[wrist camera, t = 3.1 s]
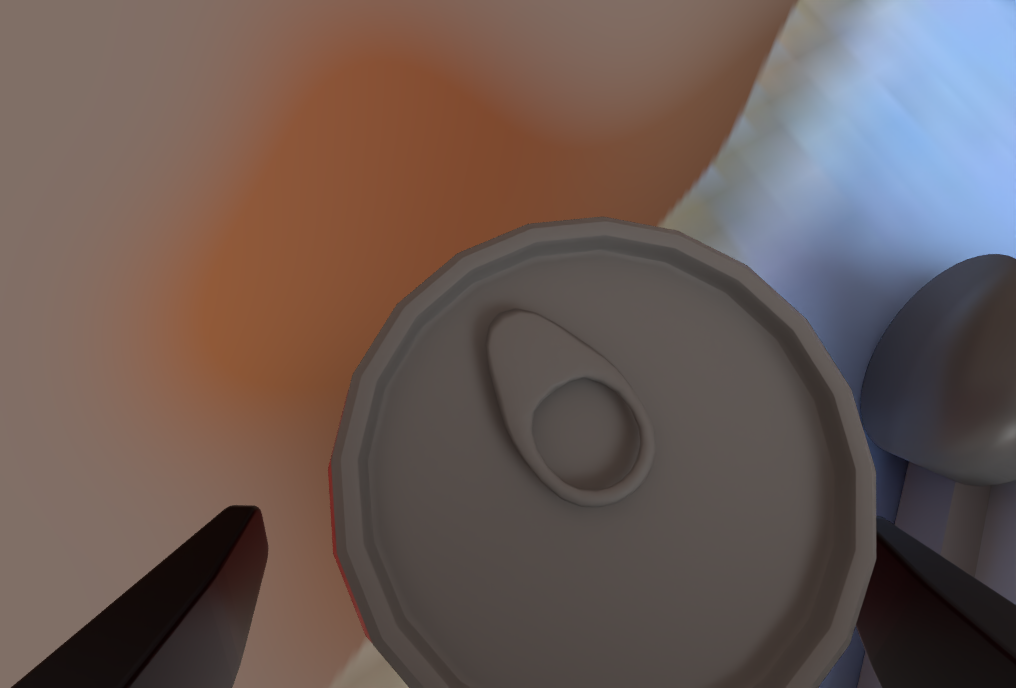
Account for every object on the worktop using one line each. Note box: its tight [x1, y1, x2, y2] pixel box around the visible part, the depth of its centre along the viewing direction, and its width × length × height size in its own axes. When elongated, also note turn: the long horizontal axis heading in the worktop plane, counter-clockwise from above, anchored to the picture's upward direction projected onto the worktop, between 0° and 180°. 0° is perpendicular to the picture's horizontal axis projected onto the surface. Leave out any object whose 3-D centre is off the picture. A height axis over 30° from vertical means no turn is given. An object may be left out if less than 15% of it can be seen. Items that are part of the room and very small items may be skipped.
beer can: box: [328, 217, 876, 688], centre depth 12 cm, size 7×7×12 cm
